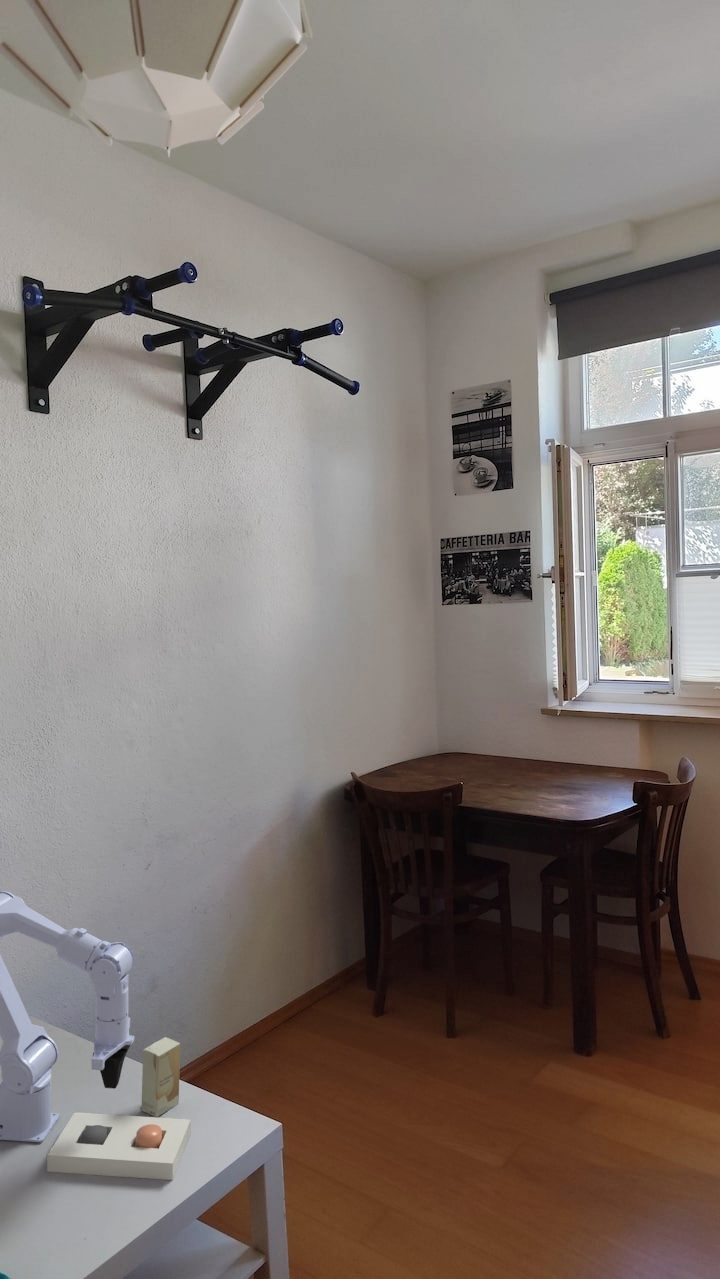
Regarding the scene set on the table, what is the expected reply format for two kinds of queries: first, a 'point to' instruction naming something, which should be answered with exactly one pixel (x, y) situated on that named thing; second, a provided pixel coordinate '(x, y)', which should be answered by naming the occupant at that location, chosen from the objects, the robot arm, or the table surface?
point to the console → (119, 1147)
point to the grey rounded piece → (94, 1135)
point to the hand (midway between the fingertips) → (111, 1086)
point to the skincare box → (160, 1076)
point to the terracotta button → (149, 1136)
